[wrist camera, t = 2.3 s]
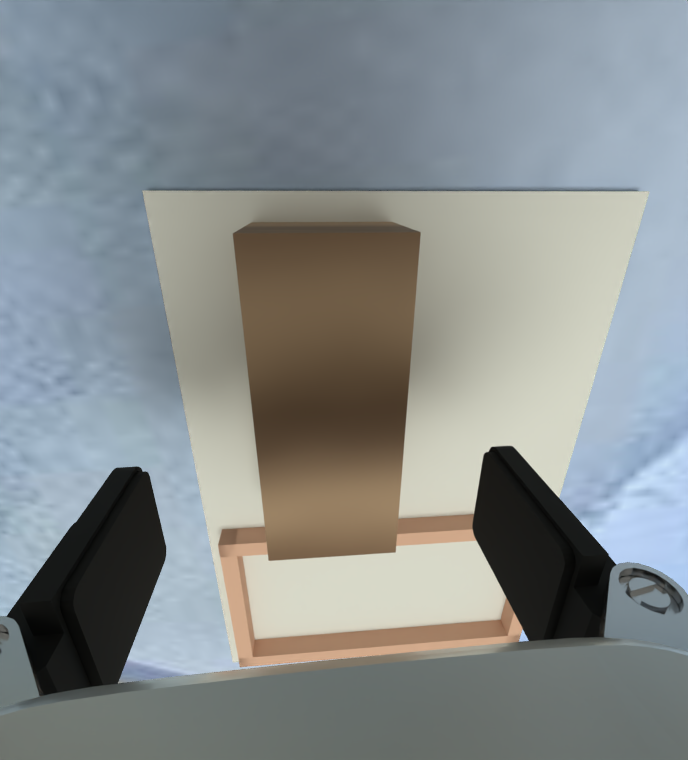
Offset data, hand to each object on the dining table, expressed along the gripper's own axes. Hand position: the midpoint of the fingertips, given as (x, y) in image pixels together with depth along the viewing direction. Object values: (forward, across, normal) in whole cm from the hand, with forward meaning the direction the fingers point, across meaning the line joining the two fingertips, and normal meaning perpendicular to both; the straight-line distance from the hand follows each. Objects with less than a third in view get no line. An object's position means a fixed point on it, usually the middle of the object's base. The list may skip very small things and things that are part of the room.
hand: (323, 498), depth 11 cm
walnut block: (+6, 0, -1) cm, 7 cm away
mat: (+7, -4, +5) cm, 9 cm away
